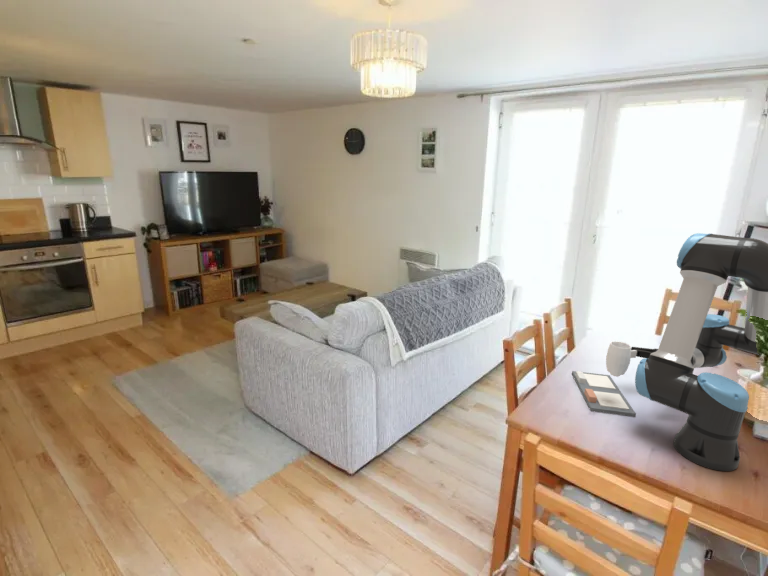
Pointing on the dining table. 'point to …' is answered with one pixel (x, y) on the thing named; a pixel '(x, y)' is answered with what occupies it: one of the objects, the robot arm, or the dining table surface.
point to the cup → (618, 358)
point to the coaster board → (602, 394)
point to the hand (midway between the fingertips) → (635, 363)
